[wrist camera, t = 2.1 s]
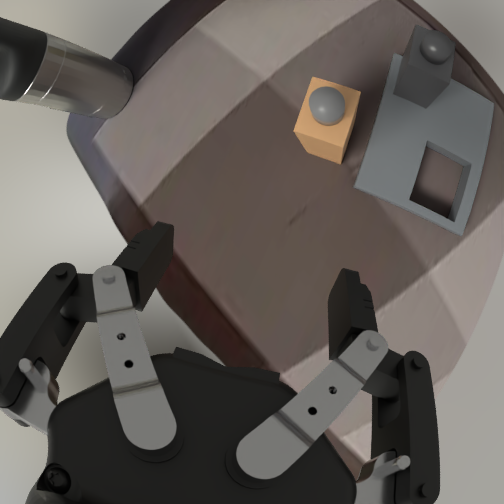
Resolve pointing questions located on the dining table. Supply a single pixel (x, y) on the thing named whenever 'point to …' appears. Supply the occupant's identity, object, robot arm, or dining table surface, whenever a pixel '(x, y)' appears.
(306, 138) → the plug
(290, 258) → the dining table surface
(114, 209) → the dining table surface
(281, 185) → the dining table surface
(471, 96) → the gray post stand
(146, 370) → the robot arm
